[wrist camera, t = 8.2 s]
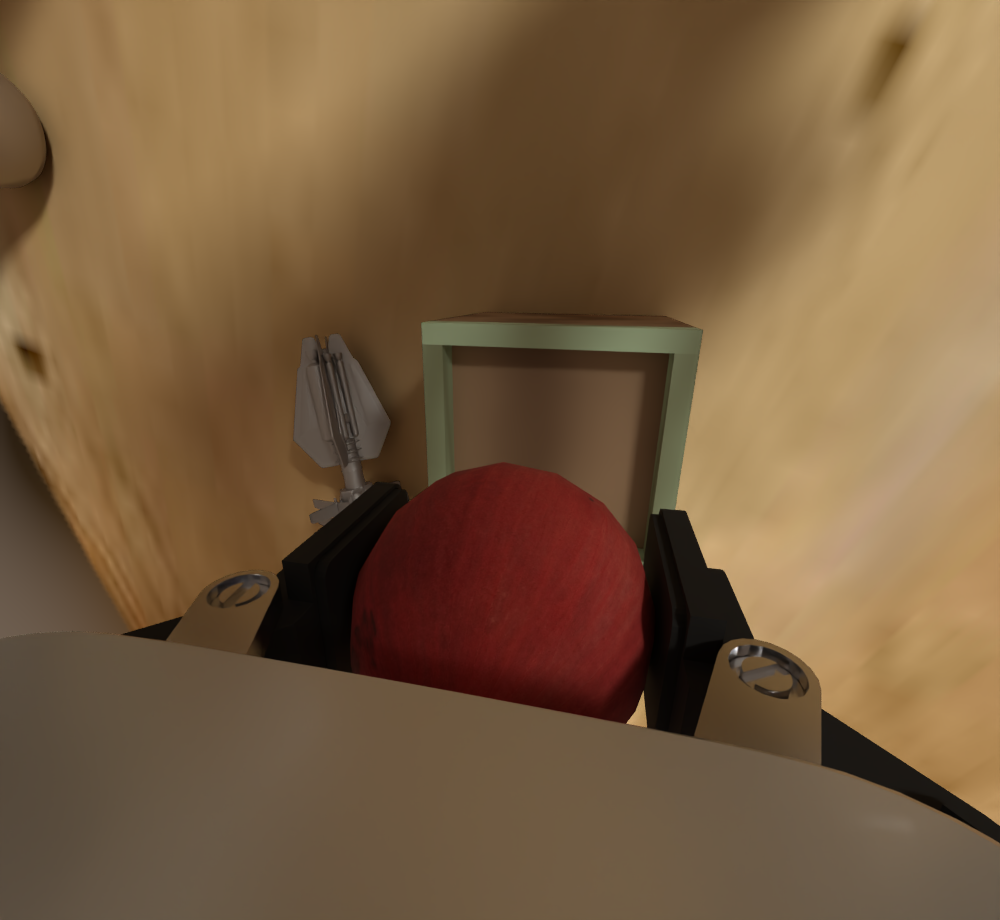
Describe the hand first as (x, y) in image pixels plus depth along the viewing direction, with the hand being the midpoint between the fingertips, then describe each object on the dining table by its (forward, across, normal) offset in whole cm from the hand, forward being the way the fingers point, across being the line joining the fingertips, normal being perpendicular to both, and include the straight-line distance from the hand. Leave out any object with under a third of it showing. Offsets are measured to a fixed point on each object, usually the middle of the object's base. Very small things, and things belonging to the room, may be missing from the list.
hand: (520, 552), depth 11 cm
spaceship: (+18, +11, +14) cm, 25 cm away
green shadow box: (+18, 0, 0) cm, 18 cm away
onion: (+2, 0, 0) cm, 2 cm away
